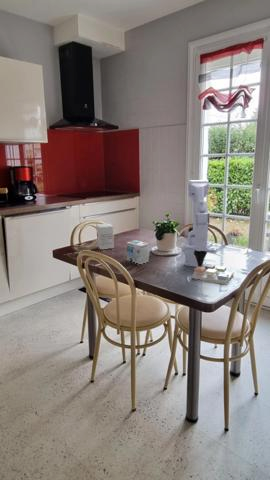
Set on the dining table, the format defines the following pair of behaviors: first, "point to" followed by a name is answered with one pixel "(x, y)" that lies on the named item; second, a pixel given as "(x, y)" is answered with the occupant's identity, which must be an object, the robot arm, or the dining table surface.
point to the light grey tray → (213, 277)
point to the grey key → (209, 266)
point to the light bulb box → (138, 252)
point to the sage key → (221, 268)
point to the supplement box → (105, 236)
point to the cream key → (211, 271)
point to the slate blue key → (222, 276)
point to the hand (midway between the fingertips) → (200, 266)
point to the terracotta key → (199, 270)
